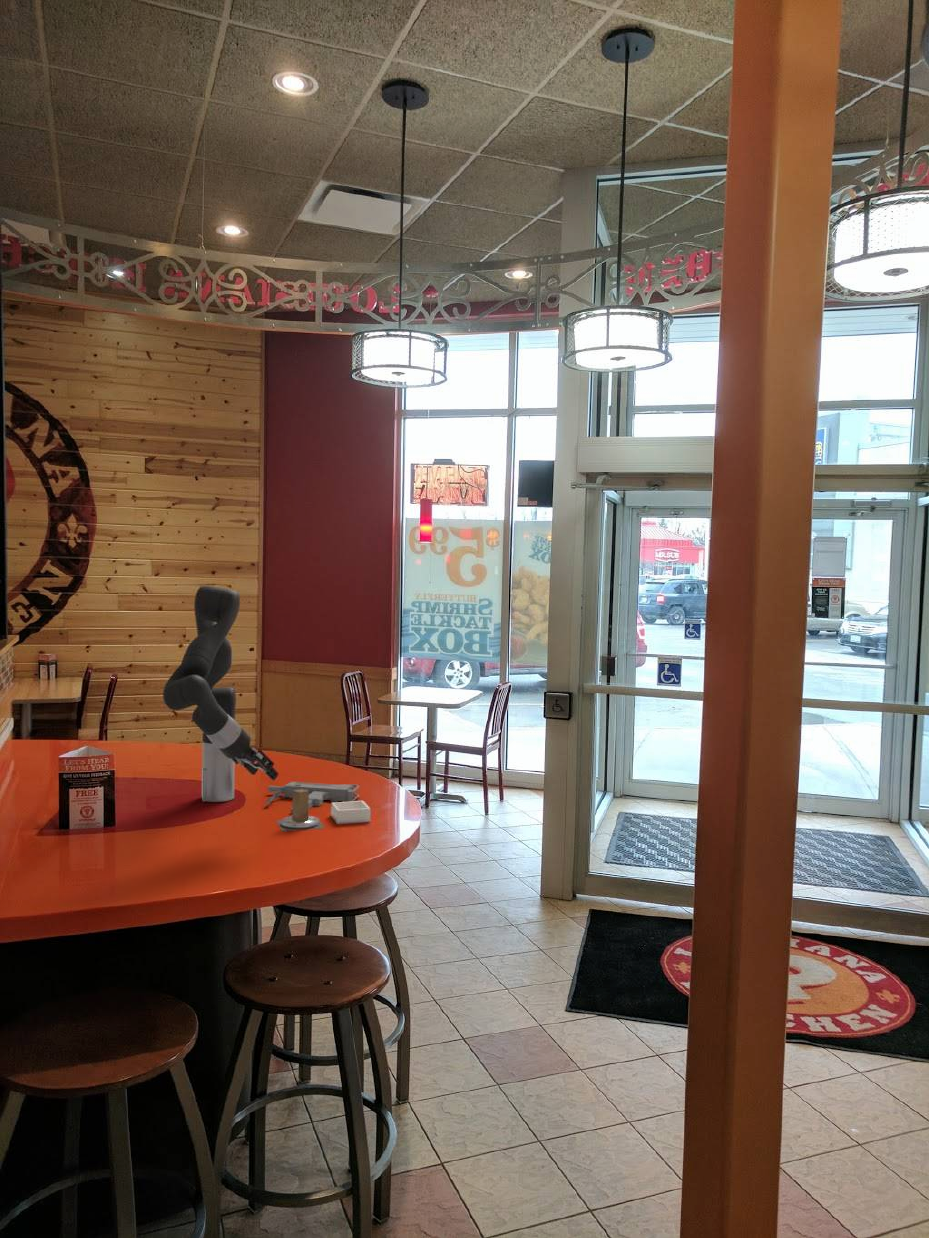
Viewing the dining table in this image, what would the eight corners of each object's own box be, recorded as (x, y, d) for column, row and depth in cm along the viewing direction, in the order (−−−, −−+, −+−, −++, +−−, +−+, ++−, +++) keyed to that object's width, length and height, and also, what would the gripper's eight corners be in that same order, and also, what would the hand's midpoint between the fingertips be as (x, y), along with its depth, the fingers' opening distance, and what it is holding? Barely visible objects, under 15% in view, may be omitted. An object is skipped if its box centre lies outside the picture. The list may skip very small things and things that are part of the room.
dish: (337, 825, 240) (337, 810, 240) (331, 816, 249) (331, 802, 249) (370, 823, 243) (370, 808, 243) (362, 814, 252) (363, 800, 252)
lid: (297, 831, 233) (297, 797, 232) (273, 823, 239) (273, 790, 239) (326, 824, 240) (327, 790, 240) (303, 816, 247) (303, 784, 246)
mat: (282, 832, 233) (282, 831, 233) (276, 821, 243) (276, 819, 243) (324, 829, 236) (324, 828, 236) (317, 818, 247) (317, 817, 247)
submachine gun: (332, 807, 247) (361, 782, 272) (238, 800, 253) (274, 777, 277) (332, 823, 248) (361, 797, 272) (238, 816, 254) (275, 791, 278)
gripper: (253, 727, 219) (291, 767, 228) (220, 720, 228) (257, 758, 237) (235, 751, 215) (273, 791, 224) (201, 743, 224) (240, 781, 233)
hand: (265, 774), depth 230 cm, fingers open, 8 cm apart
